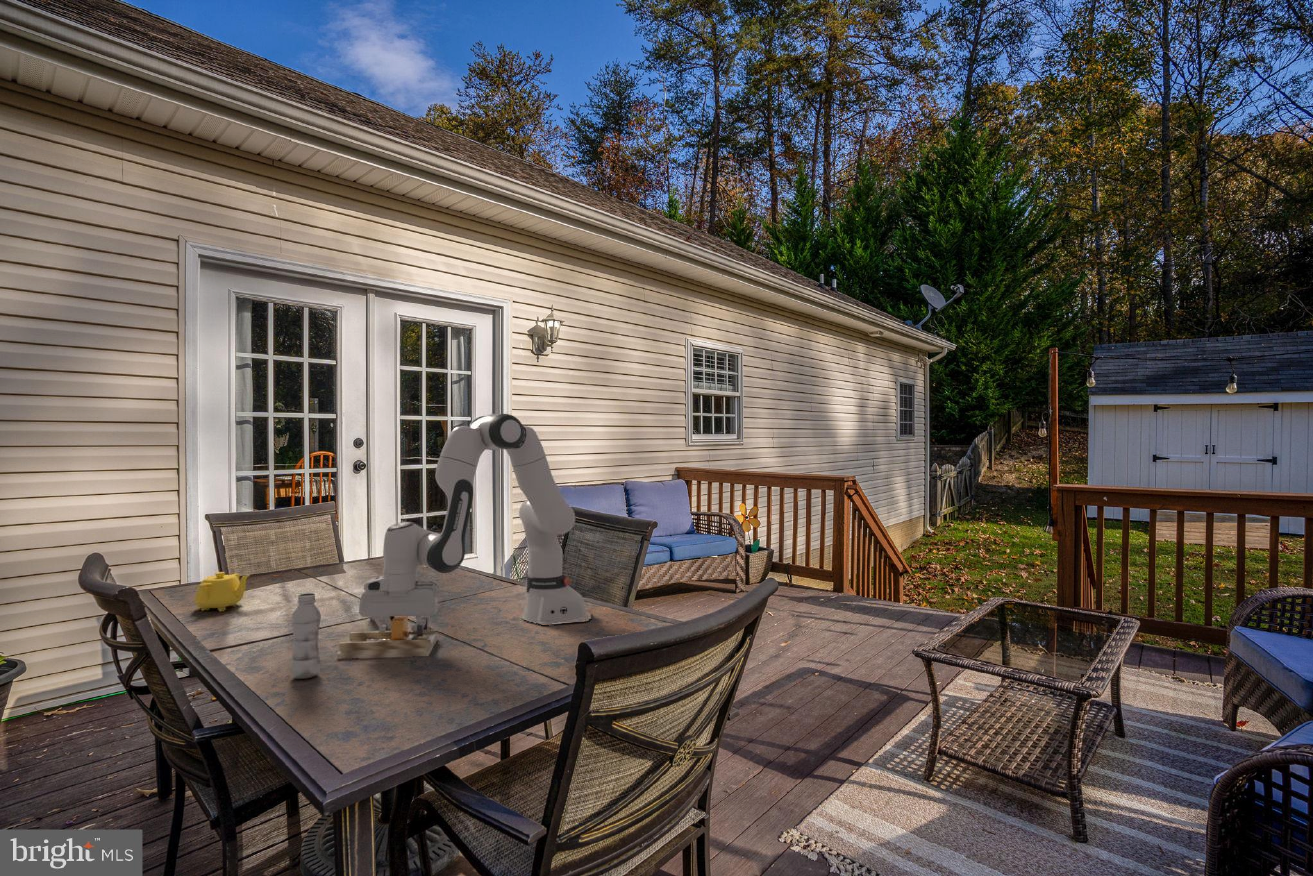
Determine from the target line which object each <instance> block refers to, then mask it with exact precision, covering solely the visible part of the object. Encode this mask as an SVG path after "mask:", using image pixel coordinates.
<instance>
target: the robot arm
mask: <svg viewBox="0 0 1313 876" xmlns="http://www.w3.org/2000/svg"><path fill="white" fill-rule="evenodd" d="M486 450H487V451H498V450H499V451H500V450H505V451H506V453H507V455H508V456H509V459H510V460H509V461H510V463H511V467H512V469H513V472H514V476H515V479H516V482H517V484H518V488H519V489H520V491H521V492H522V493H523V494H524V496H525V498H526V500H524V501H523V502H522V503H521V505H520V507H519V510H518V515H519V520H520V521H521V522H522V525H523V529H524V533H525V538H526V544H527V545H526V546H527V554H528V555H527V557H528V558H527V560H528V562H527V563H528V564H527V574H526V578H525V579H526V581H525V591H526V598H525V605H524V609H523V613H522V616H521V618H523V619H524V620H527V621H529V622H528V623H530V622H537V623H539V624H552V623H558V622H567V621H571V620H574V619H579V618H581V617H585V615H586V611H585V609H586V604H585V601H584V600H585V599H584V597H583V596H582V595H581V594H580V593H579V592H577V591H576V590H575V589H574V588H572V587H571V586H570V585H569V584H570V583H571V578H570V577H569V576H568V575H567V574H564V573H563V559H564V558H563V548H562V546H561V544H560V541H559V540H558V536H559V535H564V534H566V533H567V534H568V532H569V531H571V530H572V529H573V527H574V525H575V522H576V514H575V511H574V509H573V508H572V507H571V506H570V505H569V504H568V502H567V501H566V499H565V497H564V495H563V494H562V492H561V490H560V489H559V486H558V485H557V483H556V482H555V479H554V477H553V474H552V471H551V468H550V464H549V462H548V458H547V456H546V453H545V449H544V447H543V445H542V442H541V440H540V438H539V436H538V434H537V432H536V431H535V430H534V428H532V427H531V426H526V425H523V423H522V422H521V421H520V420H519V418H517V417H515V416H514V415H512V414H509V413H491V414H488V415H482V416H479V417H476V418H475V419H474V420H472V421H471V422H470V423H469V424H468V425H460V426H456V427H455V428H453V429H452V430H451V432H450V433H449V435H448V437H447V439H446V440H445V444H444V445H443V447H442V450H441V451H440V455H439V458H438V462H437V464H436V468H435V481H436V483H437V485H438V487H439V488H440V489H441V490H442V491H443V492H444V494H445V495H446V498H447V510H446V514H445V518H444V522H443V527H442V531H441V533H438V532H435V531H431V530H427V529H426V528H423V527H421V526H419V525H418V524H416V523H415V522H412V521H405V522H403V521H402V522H398V523H394V524H392V525H390V526H388V528H387V529H386V530H385V534H384V538H383V539H384V540H383V550H382V554H383V555H382V556H383V557H382V558H383V561H384V565H383V569H382V575H379V576H376V577H373V578H370V579H368V580H367V581H366V582H365V583H364V585H363V590H364V592H363V593H362V594H361V596H360V598H359V599H360V600H359V606H358V607H359V608H358V614H359V615H360V617H362V618H370V617H375V621H374V622H375V624H376V625H377V627H378V631H379V633H383V632H385V631H387V628H386V625H383V624H382V622H381V620H380V619H381V618H382V617H386V616H408V617H415V620H417V621H416V622H415V623H412V624H411V626H410V627H411V629H410V630H411V632H417V625H418V624H419V622H420V621H421V619H422V617H429V616H431V617H432V616H434V615H436V613H437V612H438V609H439V605H438V604H439V603H438V596H439V591H440V590H439V588H440V587H439V585H438V584H437V583H436V582H434V581H433V580H432V581H419V580H418V567H420V566H425V567H428V568H429V569H430V568H431V569H432V570H434V571H437V573H440V574H448V573H449V574H450V573H451V572H454V571H456V570H457V569H458V568H459V567H461V565H462V563H463V561H464V559H465V557H466V534H467V528H468V522H469V518H470V515H471V509H472V505H473V499H474V481H475V475H476V471H477V468H478V464H479V461H480V458H481V456H482V454H483V453H484V452H485V451H486ZM523 619H522V620H523ZM524 620H523V621H524ZM527 621H526V622H527Z"/></svg>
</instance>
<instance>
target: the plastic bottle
mask: <svg viewBox="0 0 1313 876" xmlns="http://www.w3.org/2000/svg"><path fill="white" fill-rule="evenodd" d="M315 603H316V593H314V592H306V593H301V594H298V596H297V604H298V605H297V607H296V608H295V610H294V611H293V613H291V617H290V618H291V627H292V635H293V637H292V638H293V646H292V647H293V648H292V658H291V662H290V667H289V668H290V669H289V670H290V674H291V676H292V678H294V679H295V680H303V679H304V680H305V679H311V678H313V677H316V676H317V675H318V674H319V672H320V671H321V666H322V665H321V659H320V658H321V657H320V653H319V652H320V651H319V632H320V626H321V618H322V613H321V611H320V609H319V608H318V607H317V605H316V604H315Z"/></svg>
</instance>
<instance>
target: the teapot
mask: <svg viewBox="0 0 1313 876" xmlns="http://www.w3.org/2000/svg"><path fill="white" fill-rule="evenodd" d="M214 573H215V574H214V575H212V576H207V577H205V578H203V579H202V581H201V583H200V584H199V585H198V588H197V590H196V593H195V596H194V597H195V598H194V603H195V604H196V606H197V607H198V608H201V609H200V610H207V611H209V610H210V609H216V608H217V611H218V610H226V611H227V607H230V606H235V607H237V606H236V605H238V603H239V602H241V601H242V599H243V598H244V594H245V591H246V589H247V588H246V586H247V585H246V584H247V579H248V578H249V576H251V575H250V574H248V575H243V576H242V577H241V579H240V574H239V573H233V574H225V573H226V572H225V571H219V572H218V571H217V572H214Z"/></svg>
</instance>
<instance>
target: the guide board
mask: <svg viewBox="0 0 1313 876" xmlns="http://www.w3.org/2000/svg"><path fill="white" fill-rule="evenodd" d="M433 633H436V638H435V640H434V641H433V643H432V645H431V639H418V640H394V641H391V630H386V631H385V632H383V633H379V630H375V631H374V630H373V631H372V630H371V631H350V632H349V640H348V641H342V642H341V641H340V642H339V650H338V652H337V653H336V660H353V659H352V658H354V659H355V658H359V659H378V658H379V659H380V658H381V659H382V658H383V659H384V658H407V657H408V658H411V657H413V656H415V657H429V656H430V653H431V652H432V650H433V648H434V647H435V645H436V642H437V641H438V633H437V629H428V630H423V634H433ZM410 634H417V632H411V629H410V630H408V636H409V635H410ZM375 639H378V641H367V640H375ZM380 639H390V641H379V640H380ZM434 644H435V645H434ZM433 646H434V647H433ZM342 658H343V659H342ZM345 658H346V659H345ZM347 658H348V659H347ZM350 658H351V659H350Z"/></svg>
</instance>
